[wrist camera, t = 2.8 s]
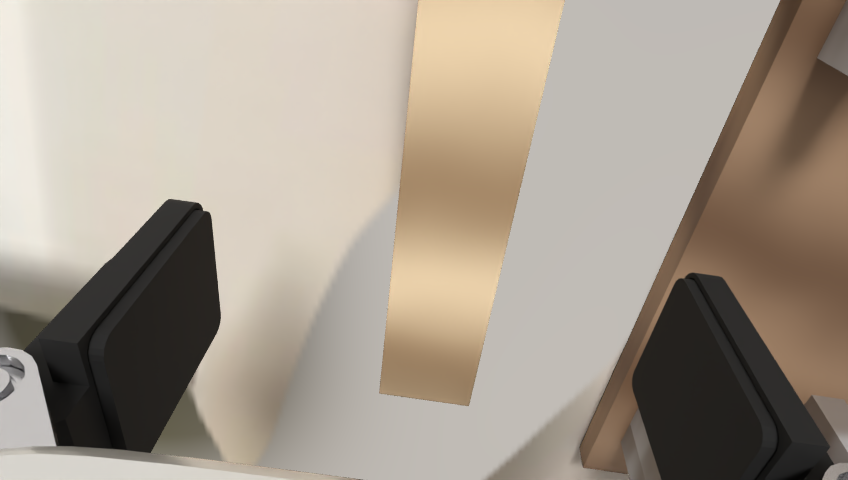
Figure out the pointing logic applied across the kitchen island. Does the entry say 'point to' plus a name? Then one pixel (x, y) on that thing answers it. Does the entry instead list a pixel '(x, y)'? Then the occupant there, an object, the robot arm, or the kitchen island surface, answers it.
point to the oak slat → (460, 184)
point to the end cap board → (764, 233)
